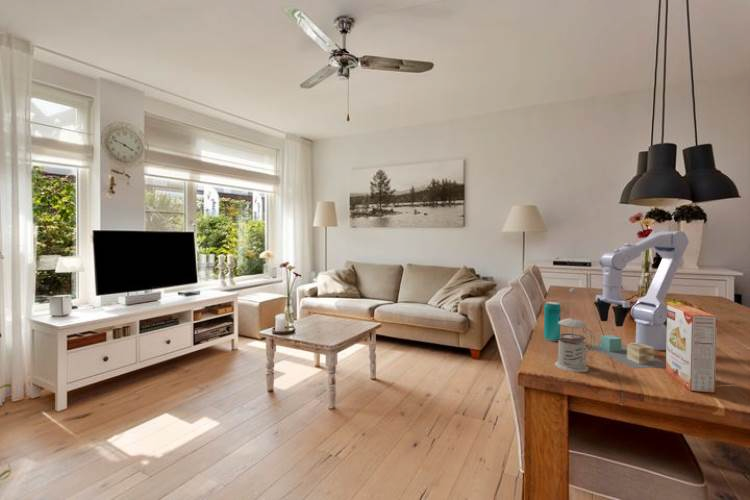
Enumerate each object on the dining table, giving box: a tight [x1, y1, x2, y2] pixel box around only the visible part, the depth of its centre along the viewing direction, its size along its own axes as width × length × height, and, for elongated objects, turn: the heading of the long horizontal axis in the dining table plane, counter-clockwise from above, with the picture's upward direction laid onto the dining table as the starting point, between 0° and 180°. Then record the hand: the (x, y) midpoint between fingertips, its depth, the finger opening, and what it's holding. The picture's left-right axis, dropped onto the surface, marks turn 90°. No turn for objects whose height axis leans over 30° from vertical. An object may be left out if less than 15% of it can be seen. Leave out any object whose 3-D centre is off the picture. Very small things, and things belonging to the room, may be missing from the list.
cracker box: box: [665, 304, 718, 394], centre depth 103 cm, size 14×6×21 cm, turn 163°
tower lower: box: [627, 351, 655, 364], centre depth 121 cm, size 5×5×2 cm
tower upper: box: [626, 342, 655, 356], centre depth 121 cm, size 5×5×2 cm
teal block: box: [600, 334, 622, 352], centre depth 133 cm, size 4×4×4 cm
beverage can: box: [543, 301, 562, 342], centre depth 145 cm, size 6×6×15 cm
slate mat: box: [586, 344, 666, 369], centre depth 126 cm, size 14×23×1 cm, turn 5°
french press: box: [554, 287, 596, 373], centre depth 116 cm, size 10×12×25 cm
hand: (611, 323), depth 132 cm, fingers open, 7 cm apart
